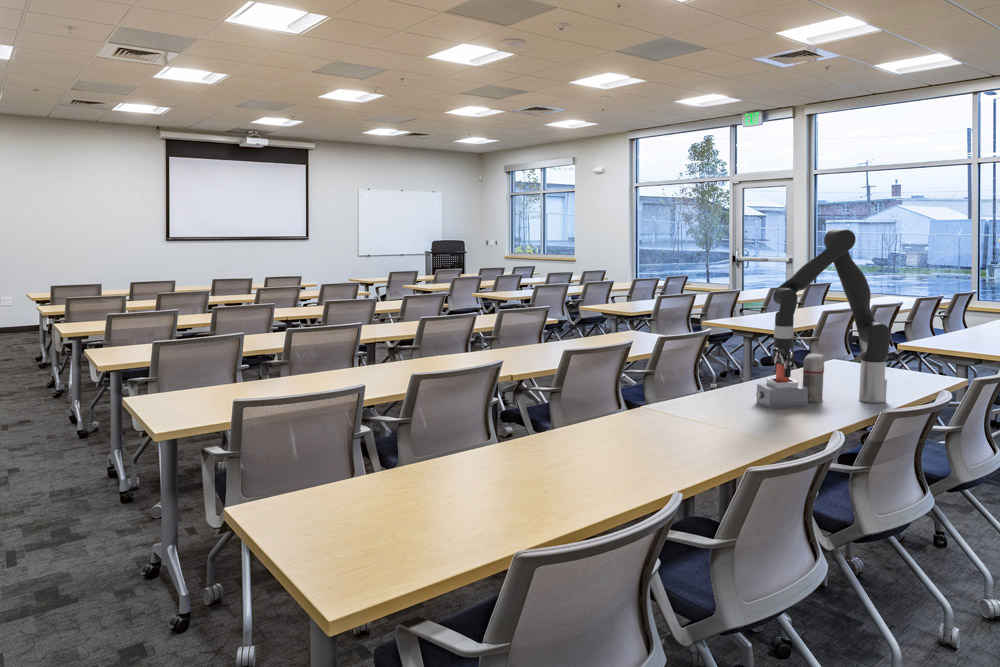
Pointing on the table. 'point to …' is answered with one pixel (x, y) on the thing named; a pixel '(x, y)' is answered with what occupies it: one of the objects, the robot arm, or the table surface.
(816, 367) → the spray can
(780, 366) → the oil can
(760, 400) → the gearbox
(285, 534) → the table surface
